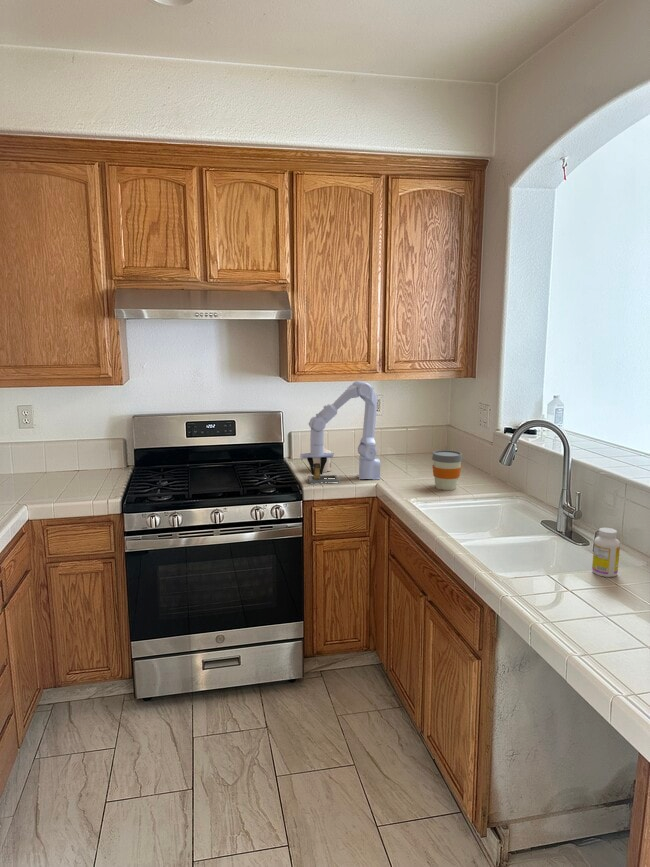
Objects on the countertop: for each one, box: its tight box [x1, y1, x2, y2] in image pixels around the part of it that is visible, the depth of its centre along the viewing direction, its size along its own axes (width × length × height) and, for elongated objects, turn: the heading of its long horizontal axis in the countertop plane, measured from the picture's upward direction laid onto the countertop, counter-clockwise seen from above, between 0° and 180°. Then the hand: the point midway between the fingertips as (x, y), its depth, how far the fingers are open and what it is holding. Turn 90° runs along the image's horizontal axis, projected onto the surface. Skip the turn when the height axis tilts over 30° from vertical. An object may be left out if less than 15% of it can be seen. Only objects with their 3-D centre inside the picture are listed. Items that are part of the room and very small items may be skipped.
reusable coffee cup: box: [431, 449, 463, 491], centre depth 262 cm, size 13×13×15 cm
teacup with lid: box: [313, 445, 333, 473], centre depth 292 cm, size 12×9×12 cm
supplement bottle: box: [591, 527, 621, 578], centre depth 173 cm, size 7×7×13 cm
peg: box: [312, 463, 321, 479], centre depth 271 cm, size 3×3×8 cm
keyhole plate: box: [307, 474, 340, 484], centre depth 272 cm, size 13×8×2 cm, turn 97°
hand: (316, 474), depth 271 cm, fingers open, 3 cm apart
